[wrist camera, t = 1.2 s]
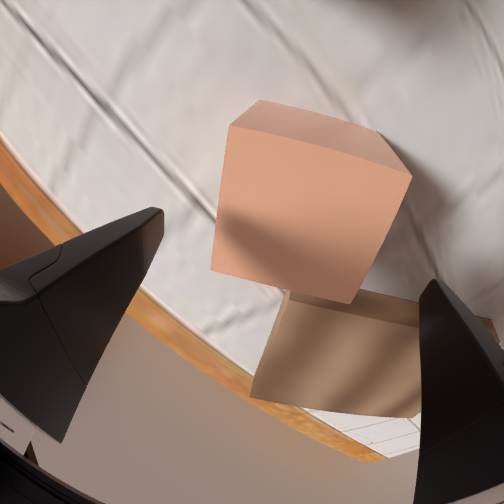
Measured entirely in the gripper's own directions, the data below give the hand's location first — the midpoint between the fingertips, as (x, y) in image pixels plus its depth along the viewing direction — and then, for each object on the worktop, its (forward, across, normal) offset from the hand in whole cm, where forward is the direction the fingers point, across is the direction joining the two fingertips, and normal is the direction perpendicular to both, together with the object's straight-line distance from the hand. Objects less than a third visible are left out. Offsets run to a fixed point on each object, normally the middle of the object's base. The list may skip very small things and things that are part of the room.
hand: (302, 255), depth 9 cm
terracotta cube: (+8, 0, 0) cm, 8 cm away
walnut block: (+8, -10, +14) cm, 19 cm away
